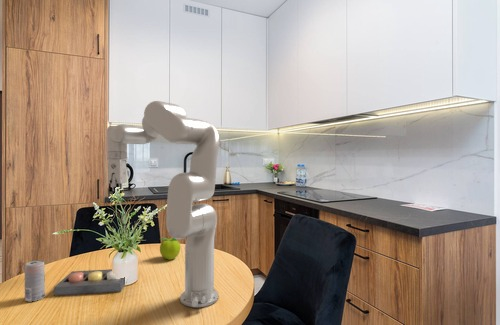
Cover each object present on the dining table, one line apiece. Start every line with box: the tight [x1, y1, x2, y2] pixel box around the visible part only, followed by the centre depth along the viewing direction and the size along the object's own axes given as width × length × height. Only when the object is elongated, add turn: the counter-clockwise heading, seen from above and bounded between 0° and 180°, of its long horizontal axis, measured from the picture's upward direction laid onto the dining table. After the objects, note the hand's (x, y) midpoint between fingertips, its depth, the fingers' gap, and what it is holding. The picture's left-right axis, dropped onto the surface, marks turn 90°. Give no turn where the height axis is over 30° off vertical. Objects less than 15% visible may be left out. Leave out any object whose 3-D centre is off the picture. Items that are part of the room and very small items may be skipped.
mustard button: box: [88, 271, 102, 281], centre depth 108 cm, size 5×5×4 cm
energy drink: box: [24, 259, 46, 303], centre depth 98 cm, size 5×5×12 cm
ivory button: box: [107, 271, 116, 280], centre depth 109 cm, size 5×5×4 cm
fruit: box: [159, 237, 181, 261], centre depth 137 cm, size 9×9×10 cm
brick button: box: [68, 272, 83, 282], centre depth 107 cm, size 5×5×4 cm
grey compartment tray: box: [53, 269, 126, 296], centre depth 108 cm, size 14×21×3 cm, turn 99°
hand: (117, 200), depth 122 cm, fingers closed
